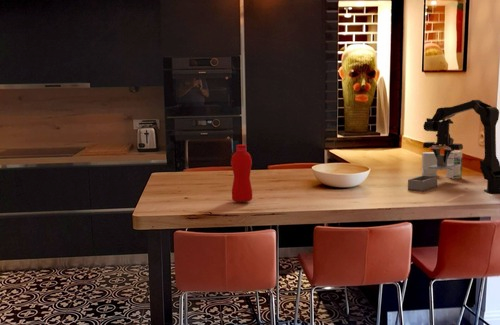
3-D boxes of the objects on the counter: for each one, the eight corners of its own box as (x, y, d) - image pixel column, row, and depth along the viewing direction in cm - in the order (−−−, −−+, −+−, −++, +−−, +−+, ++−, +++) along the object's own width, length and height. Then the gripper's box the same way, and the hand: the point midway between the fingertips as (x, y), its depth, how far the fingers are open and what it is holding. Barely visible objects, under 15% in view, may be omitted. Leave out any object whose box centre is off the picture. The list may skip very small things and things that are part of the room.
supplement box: (436, 176, 286) (437, 153, 284) (422, 175, 287) (423, 153, 286) (434, 174, 293) (435, 151, 291) (421, 173, 295) (422, 151, 293)
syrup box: (452, 178, 277) (453, 152, 275) (445, 177, 282) (446, 150, 280) (461, 178, 278) (462, 151, 276) (454, 176, 284) (455, 150, 282)
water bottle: (251, 196, 239) (251, 142, 235) (252, 201, 228) (252, 145, 224) (231, 197, 239) (230, 143, 235) (231, 202, 228) (230, 146, 224)
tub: (422, 191, 245) (422, 181, 244) (407, 189, 250) (408, 179, 249) (437, 186, 256) (437, 176, 255) (422, 185, 261) (423, 175, 260)
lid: (442, 170, 258) (442, 157, 257) (427, 168, 263) (428, 156, 262) (455, 166, 269) (455, 154, 269) (441, 165, 275) (442, 152, 274)
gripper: (467, 132, 263) (466, 162, 265) (432, 130, 276) (431, 159, 278) (458, 133, 255) (457, 164, 257) (423, 131, 268) (422, 161, 270)
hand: (442, 162), depth 266 cm, fingers closed on lid, 3 cm apart
